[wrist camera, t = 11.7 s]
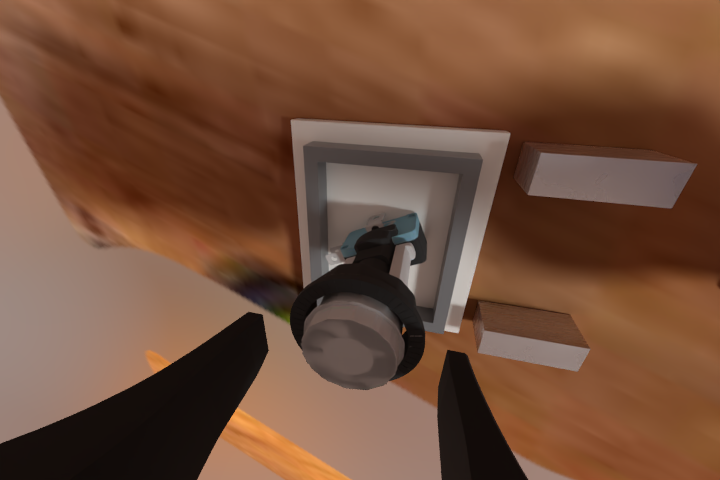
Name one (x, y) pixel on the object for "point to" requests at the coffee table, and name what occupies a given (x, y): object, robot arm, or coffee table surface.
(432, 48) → the coffee table surface
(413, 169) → the port dock
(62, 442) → the robot arm
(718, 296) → the coffee table surface
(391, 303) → the push button
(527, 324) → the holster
